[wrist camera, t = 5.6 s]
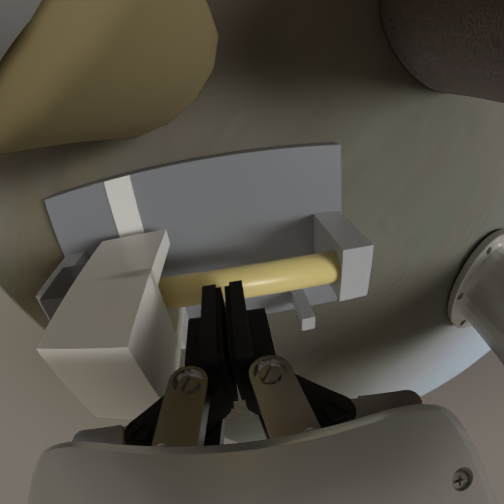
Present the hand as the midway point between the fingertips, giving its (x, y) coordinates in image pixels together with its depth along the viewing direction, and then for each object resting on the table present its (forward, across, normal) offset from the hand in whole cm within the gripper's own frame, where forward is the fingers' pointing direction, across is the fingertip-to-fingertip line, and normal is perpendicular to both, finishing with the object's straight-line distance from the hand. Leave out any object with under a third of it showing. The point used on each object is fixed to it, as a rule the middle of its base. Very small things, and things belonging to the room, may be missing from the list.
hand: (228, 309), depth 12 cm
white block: (+4, +5, 0) cm, 7 cm away
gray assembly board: (+6, +2, 0) cm, 7 cm away
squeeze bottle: (+7, +3, -12) cm, 14 cm away
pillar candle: (+7, -16, -14) cm, 22 cm away
